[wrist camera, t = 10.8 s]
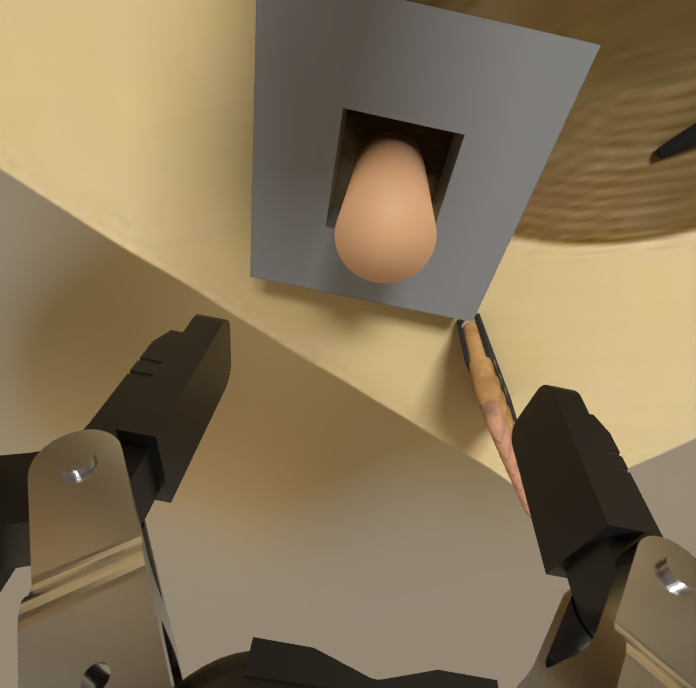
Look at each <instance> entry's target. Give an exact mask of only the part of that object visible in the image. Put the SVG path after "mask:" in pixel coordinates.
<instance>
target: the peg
mask: <svg viewBox="0 0 696 688" xmlns="http://www.w3.org/2000/svg"><path fill="white" fill-rule="evenodd" d="M334 235H335V245H336V249H337V252H338V254H339V256H340V258H341V260H342V261H343V263H344V264H345V265H346V267H347V268H348V269H349V270H351V271H352V272H353V273H354V274H356V275H357V276H359V277H361V278H363V279H365V280H368V281H371V282H376V283H394V282H399V281H402V280H405V279H407V278H409V277H411V276H413V275H414V274H416V273H417V272H418V271H420V270H421V269H422V268H423V267H424V266H425V265H426V263H427V262H428V261H429V259H430V257H431V255H432V253H433V251H434V248H435V244H436V238H437V230H436V224H435V218H434V213H433V207H432V202H431V197H430V191H429V186H428V181H427V175H426V170H425V164H424V159H423V155H422V152H421V150H420V148H419V147H418V145H417V144H416V143H415V141H414V140H412V139H411V138H410V137H408V136H407V135H405V134H402V133H399V132H384V133H380V134H378V135H376V136H374V137H373V138H371V139H370V140H369V141H368V142H367V143H366V144H365V145H364V146H363V148H362V149H361V151H360V153H359V156H358V158H357V161H356V164H355V167H354V170H353V173H352V176H351V180H350V183H349V186H348V189H347V192H346V195H345V198H344V201H343V204H342V207H341V210H340V213H339V216H338V219H337V222H336V226H335V234H334Z"/></svg>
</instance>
